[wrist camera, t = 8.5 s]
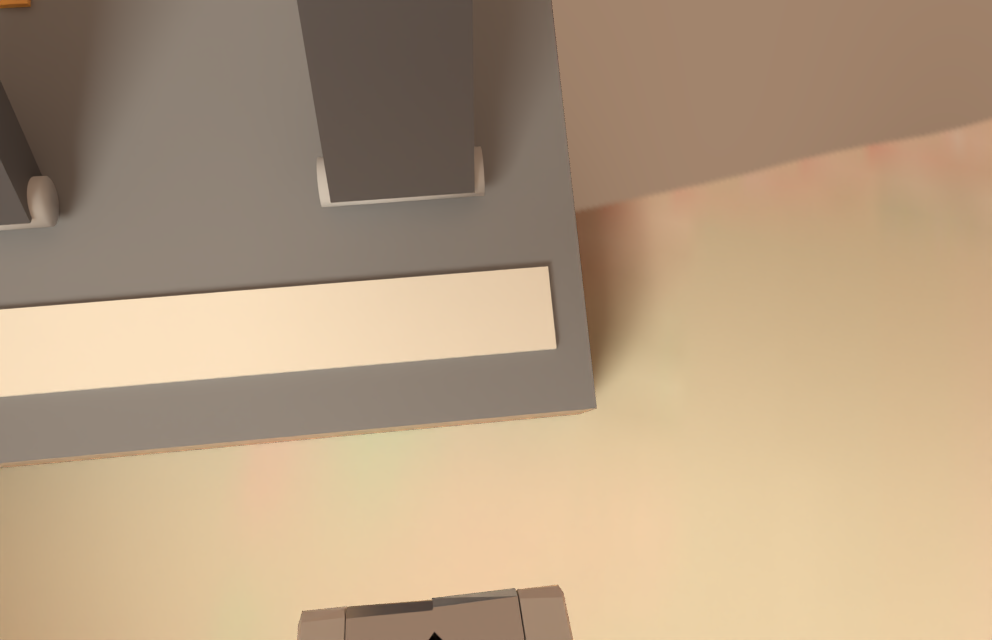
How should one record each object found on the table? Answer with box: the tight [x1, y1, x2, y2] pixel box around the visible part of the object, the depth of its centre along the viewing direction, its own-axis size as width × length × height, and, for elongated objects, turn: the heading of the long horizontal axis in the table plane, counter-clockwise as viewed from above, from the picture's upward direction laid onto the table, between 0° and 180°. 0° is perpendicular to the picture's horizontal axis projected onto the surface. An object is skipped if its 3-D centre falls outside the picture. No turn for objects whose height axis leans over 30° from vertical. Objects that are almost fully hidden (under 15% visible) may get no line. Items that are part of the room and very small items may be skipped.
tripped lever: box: [297, 0, 485, 207], centre depth 23 cm, size 5×2×10 cm
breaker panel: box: [0, 0, 597, 468], centre depth 28 cm, size 22×16×3 cm
